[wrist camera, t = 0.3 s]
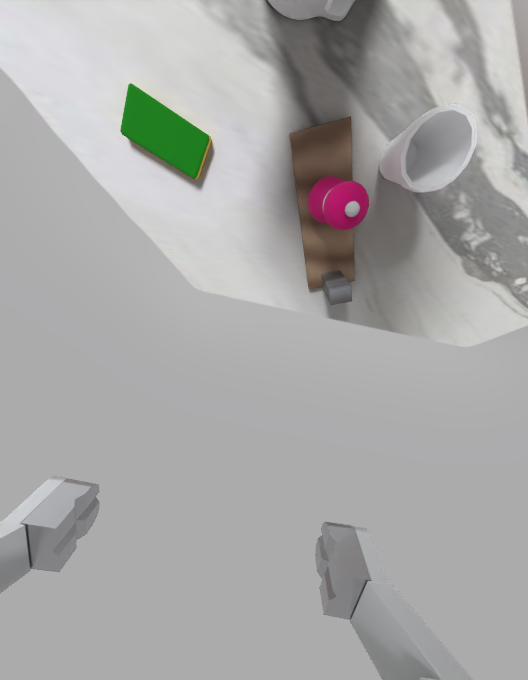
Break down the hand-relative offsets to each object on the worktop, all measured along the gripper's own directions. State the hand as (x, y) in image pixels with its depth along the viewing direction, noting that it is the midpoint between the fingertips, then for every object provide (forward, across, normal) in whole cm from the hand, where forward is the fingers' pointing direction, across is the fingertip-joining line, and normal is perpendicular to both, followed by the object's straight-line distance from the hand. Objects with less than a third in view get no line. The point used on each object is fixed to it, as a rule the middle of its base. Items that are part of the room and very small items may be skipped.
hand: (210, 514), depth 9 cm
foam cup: (+45, -19, -32) cm, 58 cm away
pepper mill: (+47, -8, -24) cm, 53 cm away
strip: (+48, -9, -21) cm, 53 cm away
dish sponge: (+45, +22, -28) cm, 57 cm away
